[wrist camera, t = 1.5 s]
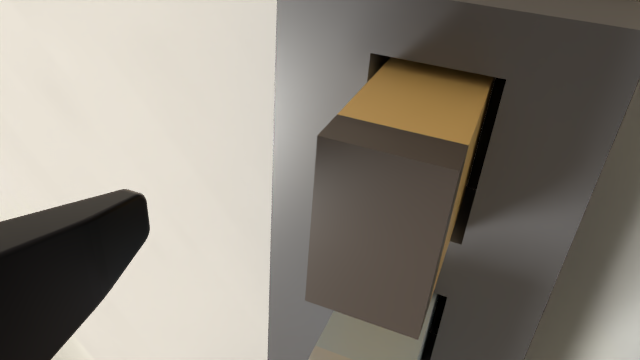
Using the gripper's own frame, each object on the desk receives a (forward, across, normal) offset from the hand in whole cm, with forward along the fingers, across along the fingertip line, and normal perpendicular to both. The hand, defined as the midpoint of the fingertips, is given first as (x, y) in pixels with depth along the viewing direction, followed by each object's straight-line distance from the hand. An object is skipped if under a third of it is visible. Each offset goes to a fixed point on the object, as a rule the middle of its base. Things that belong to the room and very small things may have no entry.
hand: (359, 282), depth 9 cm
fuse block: (+8, 0, +3) cm, 9 cm away
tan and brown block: (+8, 0, 0) cm, 8 cm away
